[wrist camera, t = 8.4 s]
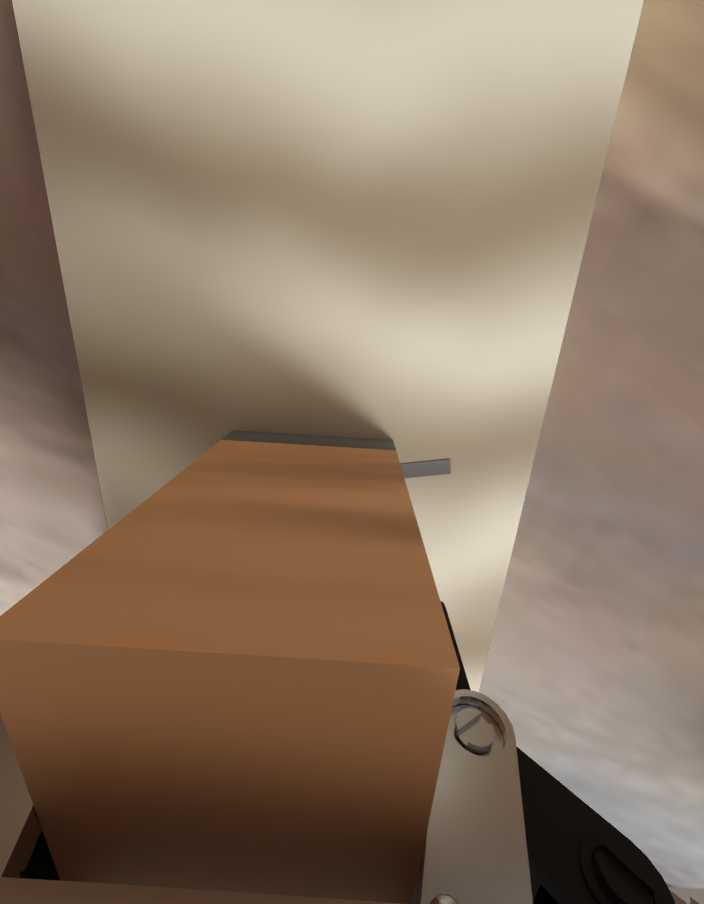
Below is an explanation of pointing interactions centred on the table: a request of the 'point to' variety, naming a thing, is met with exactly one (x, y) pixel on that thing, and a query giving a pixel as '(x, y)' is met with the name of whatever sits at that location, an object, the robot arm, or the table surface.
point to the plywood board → (328, 236)
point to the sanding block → (240, 680)
